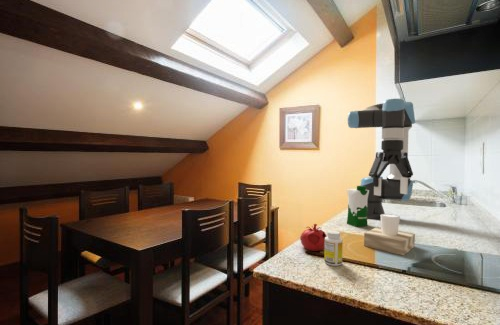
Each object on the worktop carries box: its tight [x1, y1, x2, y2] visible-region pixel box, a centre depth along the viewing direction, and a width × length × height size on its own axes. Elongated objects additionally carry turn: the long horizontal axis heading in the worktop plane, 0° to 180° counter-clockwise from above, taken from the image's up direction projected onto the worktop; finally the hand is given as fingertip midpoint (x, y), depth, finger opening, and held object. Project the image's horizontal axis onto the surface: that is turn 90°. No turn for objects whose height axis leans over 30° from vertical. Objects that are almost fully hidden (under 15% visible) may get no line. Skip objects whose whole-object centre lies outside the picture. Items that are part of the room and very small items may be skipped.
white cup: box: [380, 213, 401, 235], centre depth 107 cm, size 7×7×7 cm
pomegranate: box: [299, 223, 327, 252], centre depth 103 cm, size 10×10×9 cm
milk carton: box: [346, 185, 369, 228], centre depth 140 cm, size 9×9×20 cm
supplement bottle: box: [323, 229, 344, 267], centre depth 89 cm, size 6×6×10 cm
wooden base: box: [363, 226, 416, 256], centre depth 107 cm, size 14×14×5 cm
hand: (390, 194), depth 106 cm, fingers open, 13 cm apart
